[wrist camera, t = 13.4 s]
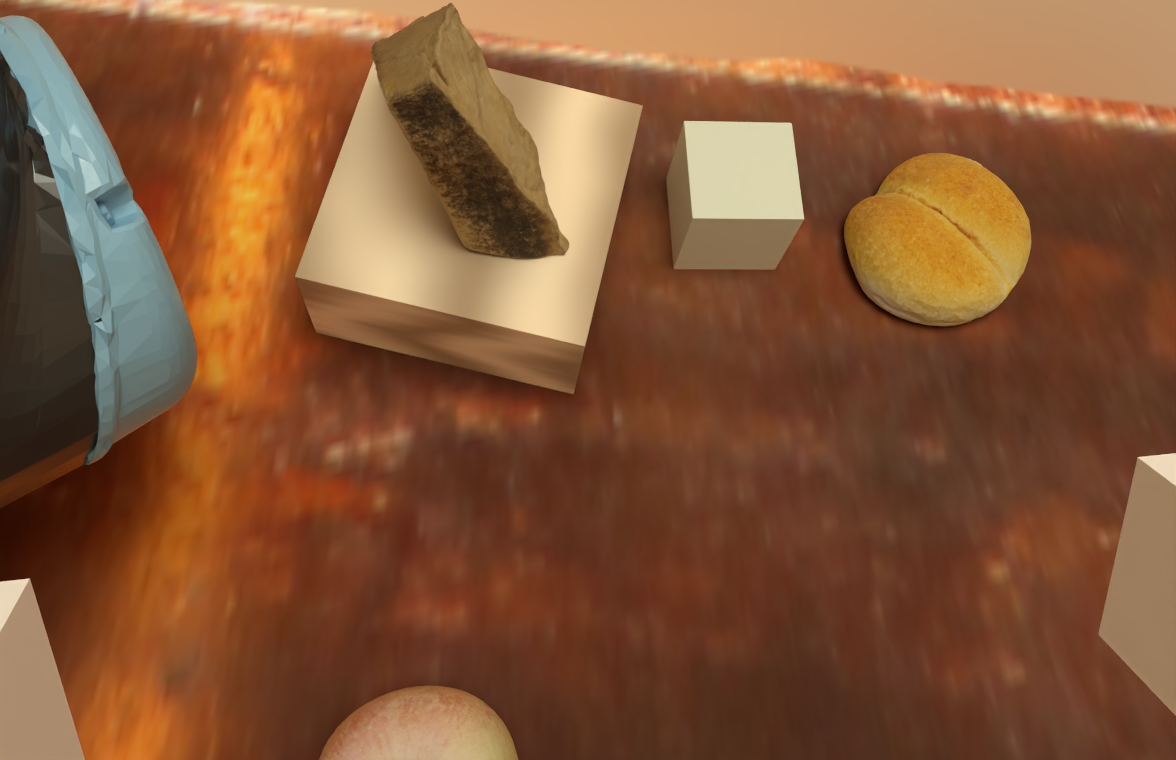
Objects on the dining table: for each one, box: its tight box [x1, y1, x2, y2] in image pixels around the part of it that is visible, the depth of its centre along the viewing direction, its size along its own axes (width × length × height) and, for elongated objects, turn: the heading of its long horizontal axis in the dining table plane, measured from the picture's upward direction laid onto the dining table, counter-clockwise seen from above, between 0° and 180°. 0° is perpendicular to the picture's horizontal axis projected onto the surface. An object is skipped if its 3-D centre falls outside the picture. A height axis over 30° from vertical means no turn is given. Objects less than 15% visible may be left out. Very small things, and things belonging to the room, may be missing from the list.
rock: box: [371, 3, 569, 259], centre depth 42 cm, size 11×9×10 cm
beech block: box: [295, 61, 643, 394], centre depth 47 cm, size 12×12×6 cm
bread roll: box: [844, 153, 1031, 326], centre depth 50 cm, size 8×9×4 cm
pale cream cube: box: [666, 121, 804, 270], centre depth 49 cm, size 5×5×5 cm
